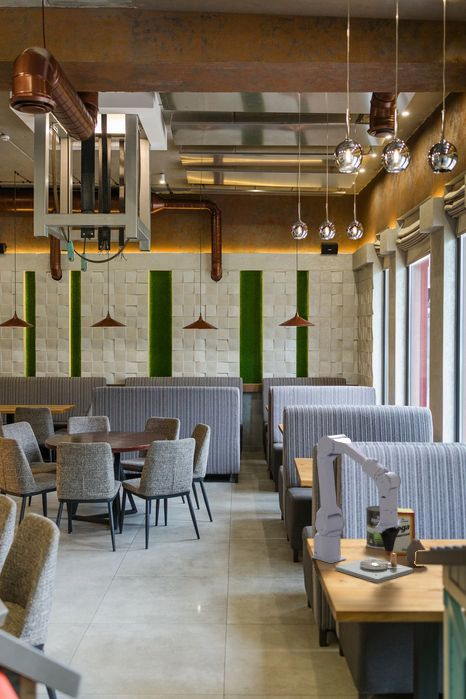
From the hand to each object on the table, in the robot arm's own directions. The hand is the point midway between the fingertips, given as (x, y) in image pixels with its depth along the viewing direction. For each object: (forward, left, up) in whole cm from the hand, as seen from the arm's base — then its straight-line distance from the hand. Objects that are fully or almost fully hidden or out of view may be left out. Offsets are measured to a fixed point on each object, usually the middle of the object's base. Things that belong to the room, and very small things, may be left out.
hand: (389, 550), depth 226 cm
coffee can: (-26, +27, -8) cm, 38 cm away
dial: (-5, +1, -6) cm, 8 cm away
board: (-6, 0, -8) cm, 10 cm away
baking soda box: (-14, +24, -8) cm, 29 cm away
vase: (-1, +16, -8) cm, 18 cm away
